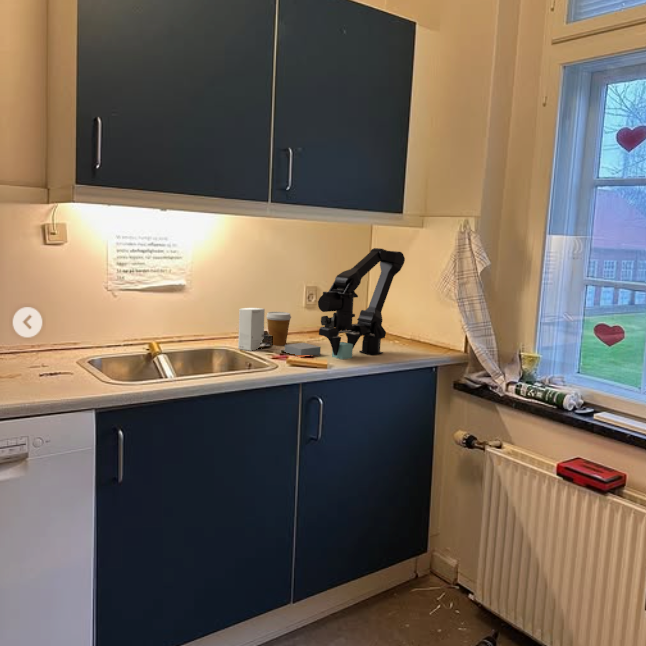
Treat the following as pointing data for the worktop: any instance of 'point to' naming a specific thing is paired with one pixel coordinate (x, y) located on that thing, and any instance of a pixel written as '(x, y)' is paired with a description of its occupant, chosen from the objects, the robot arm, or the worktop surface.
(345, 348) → the teal cube
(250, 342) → the skincare box
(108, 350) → the worktop surface
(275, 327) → the disposable coffee cup
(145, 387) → the worktop surface
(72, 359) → the worktop surface
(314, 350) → the block
